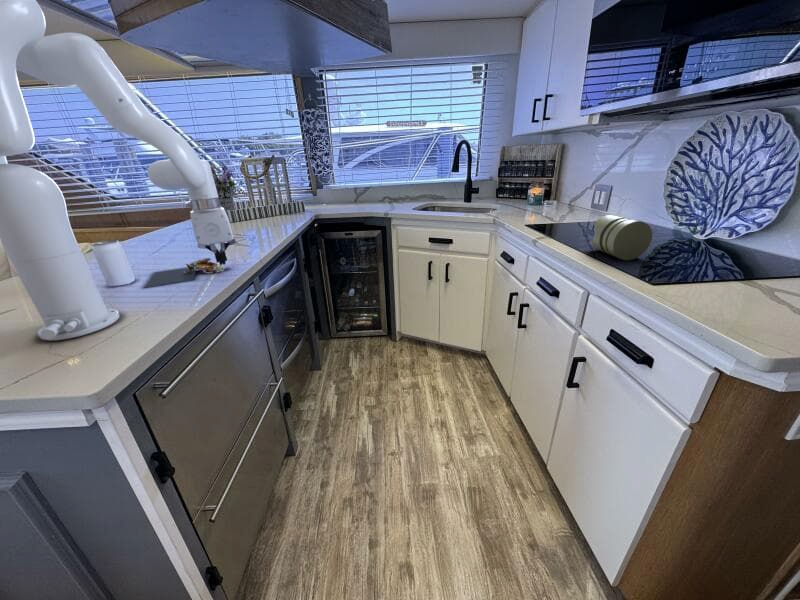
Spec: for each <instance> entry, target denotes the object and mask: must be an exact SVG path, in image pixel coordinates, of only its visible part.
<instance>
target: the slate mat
mask: <svg viewBox="0 0 800 600" xmlns="http://www.w3.org/2000/svg"><path fill="white" fill-rule="evenodd" d="M184 272H189V268H188V267H181V268H176V269H169V270H162V271H155V272H154V273H153V274H152V276H151V278H149V280H148V282H147V283H146V284H145V286H144V287H143V288H144V289H148V288H154V287H159V286H166V285H171V284H173V285H174V284H177V283H178V284H179V283H184V282H190V281H195V278H196V275H197V271H196V270H194V269H192V270H191V273H190V274H184Z"/></svg>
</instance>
